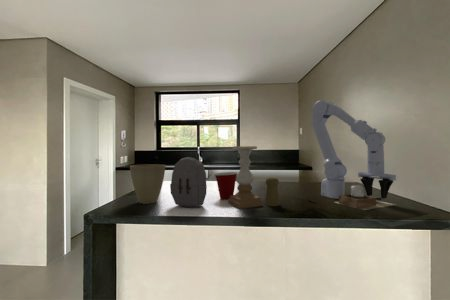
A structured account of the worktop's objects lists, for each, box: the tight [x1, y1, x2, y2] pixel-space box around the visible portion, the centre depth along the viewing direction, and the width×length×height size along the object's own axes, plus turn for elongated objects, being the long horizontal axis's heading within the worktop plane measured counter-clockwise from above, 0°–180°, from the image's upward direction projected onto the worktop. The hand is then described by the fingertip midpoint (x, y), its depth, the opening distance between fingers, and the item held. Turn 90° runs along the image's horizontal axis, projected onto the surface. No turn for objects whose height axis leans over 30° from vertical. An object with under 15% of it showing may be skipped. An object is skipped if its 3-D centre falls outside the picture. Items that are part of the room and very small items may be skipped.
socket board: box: [333, 193, 397, 211], centre depth 103 cm, size 14×18×4 cm
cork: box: [264, 177, 281, 207], centre depth 107 cm, size 6×6×11 cm
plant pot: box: [129, 163, 166, 205], centre depth 114 cm, size 15×15×16 cm
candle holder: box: [227, 145, 264, 210], centre depth 107 cm, size 11×11×24 cm
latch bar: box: [374, 196, 387, 201], centre depth 105 cm, size 9×3×1 cm, turn 25°
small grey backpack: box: [169, 156, 208, 208], centre depth 104 cm, size 15×8×20 cm, turn 72°
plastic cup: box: [213, 171, 239, 201], centre depth 119 cm, size 11×11×12 cm
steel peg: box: [350, 184, 365, 199], centre depth 101 cm, size 4×4×7 cm
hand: (376, 196), depth 104 cm, fingers open, 5 cm apart
